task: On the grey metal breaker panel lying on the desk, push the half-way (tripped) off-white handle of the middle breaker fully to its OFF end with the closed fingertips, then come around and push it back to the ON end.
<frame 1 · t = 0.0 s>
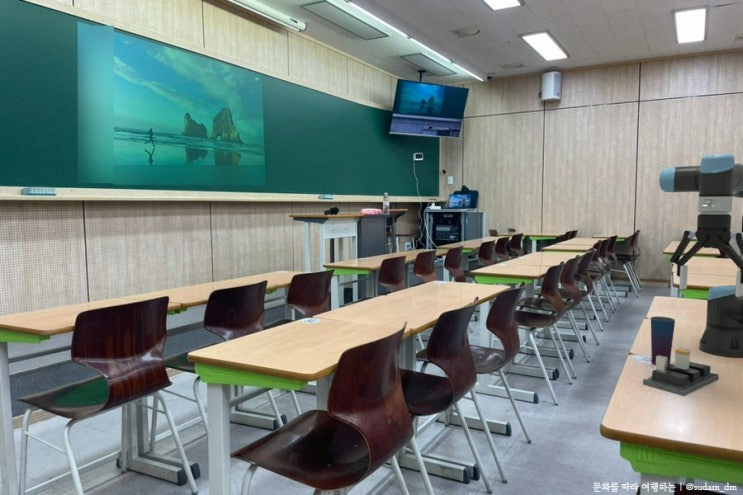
hand: (709, 292, 140), 28 cm above the table, fingers open, 13 cm apart
tripped handle: (682, 359, 150), point 7 cm above the table, slide at 0.0 cm
panel: (681, 381, 151), on the table
cup: (660, 364, 167), on the table
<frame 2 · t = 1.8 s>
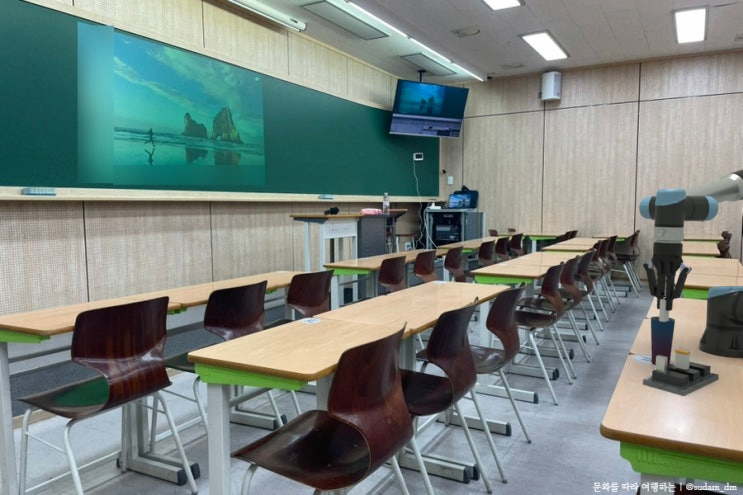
hand: (663, 320, 154), 17 cm above the table, fingers closed
nothing on the table moved.
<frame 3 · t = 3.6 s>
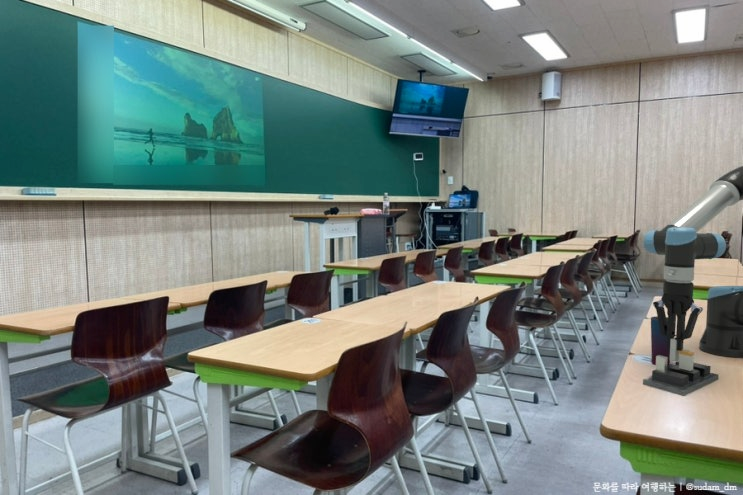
hand: (674, 360, 152), 6 cm above the table, fingers closed
tripped handle: (686, 360, 150), point 7 cm above the table, slide at 1.1 cm, touching gripper
everything else where it was.
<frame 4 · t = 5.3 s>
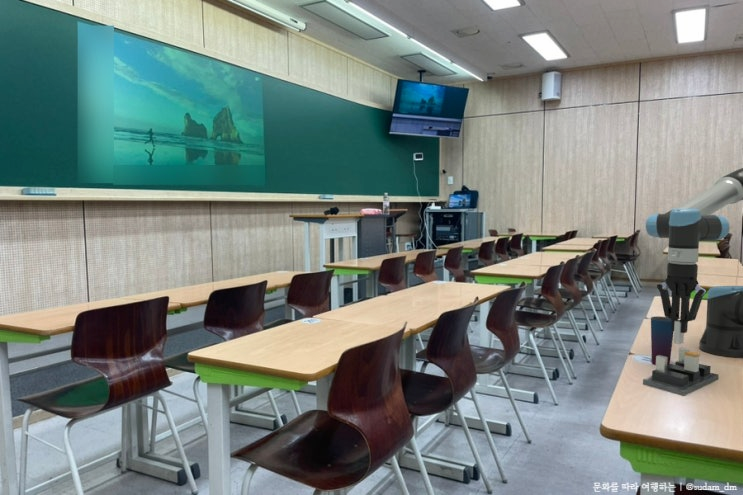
hand: (678, 342, 151), 11 cm above the table, fingers closed
tripped handle: (691, 361, 148), point 7 cm above the table, slide at 2.5 cm
everything else where it was.
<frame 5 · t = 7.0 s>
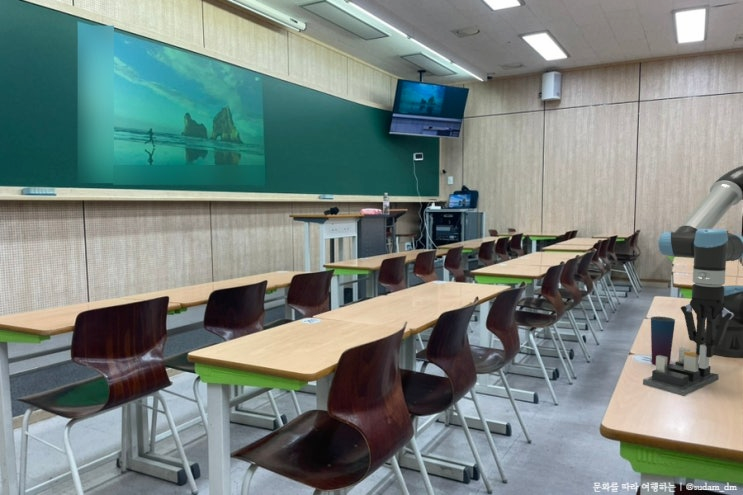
hand: (703, 367, 146), 6 cm above the table, fingers closed
tripped handle: (691, 361, 148), point 7 cm above the table, slide at 2.4 cm, touching gripper
everything else where it was.
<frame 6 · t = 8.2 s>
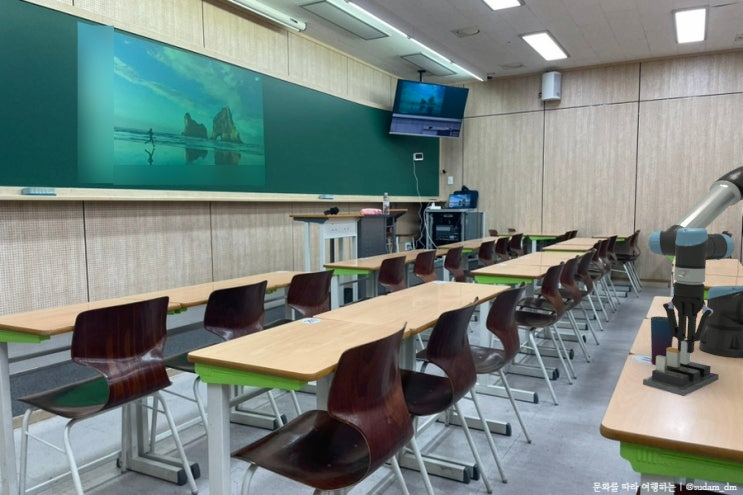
hand: (685, 362, 150), 6 cm above the table, fingers closed
tripped handle: (673, 357, 152), point 7 cm above the table, slide at -2.5 cm, touching gripper
everything else where it was.
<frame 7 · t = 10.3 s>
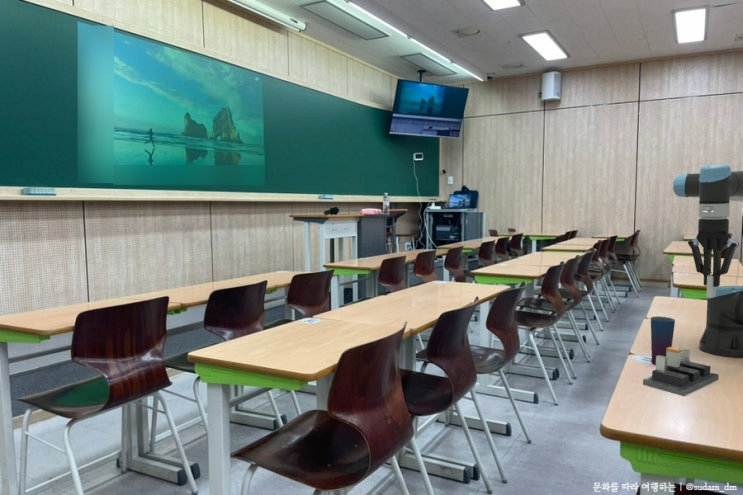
hand: (711, 296, 155), 24 cm above the table, fingers closed
tripped handle: (673, 357, 152), point 7 cm above the table, slide at -2.5 cm
everything else where it was.
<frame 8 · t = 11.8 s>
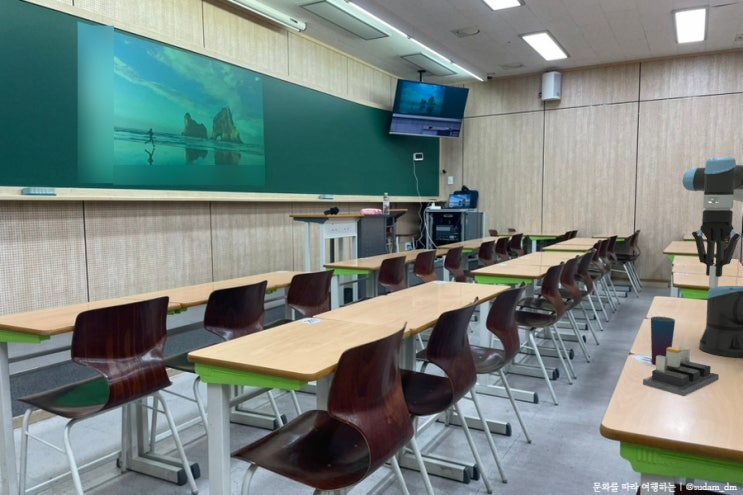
hand: (713, 286, 158), 26 cm above the table, fingers closed
nothing on the table moved.
at the end: tripped handle slide at -2.5 cm; the gripper is holding nothing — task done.
